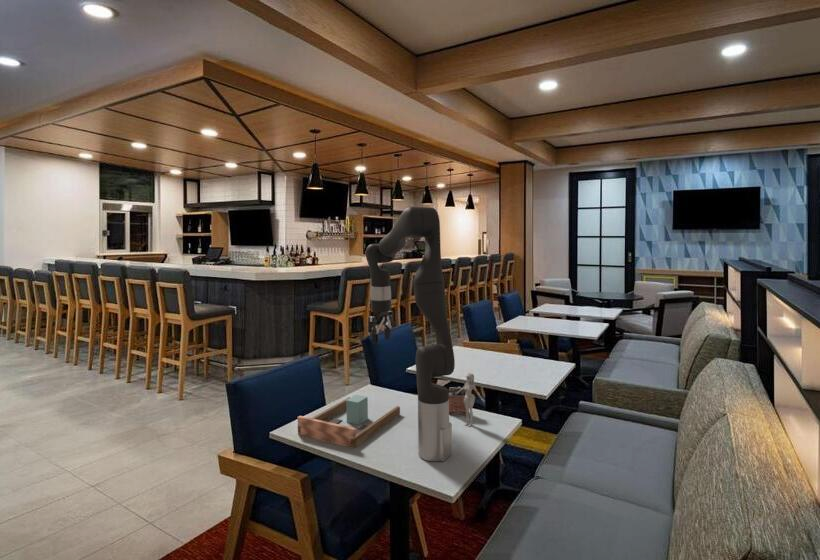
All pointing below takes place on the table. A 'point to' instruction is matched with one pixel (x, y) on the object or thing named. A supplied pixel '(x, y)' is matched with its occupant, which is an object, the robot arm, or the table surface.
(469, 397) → the human figurine
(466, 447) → the table surface
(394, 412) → the lane box
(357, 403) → the block
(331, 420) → the trap pads
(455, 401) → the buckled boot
